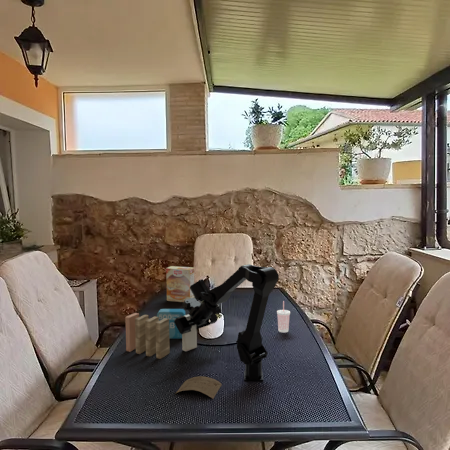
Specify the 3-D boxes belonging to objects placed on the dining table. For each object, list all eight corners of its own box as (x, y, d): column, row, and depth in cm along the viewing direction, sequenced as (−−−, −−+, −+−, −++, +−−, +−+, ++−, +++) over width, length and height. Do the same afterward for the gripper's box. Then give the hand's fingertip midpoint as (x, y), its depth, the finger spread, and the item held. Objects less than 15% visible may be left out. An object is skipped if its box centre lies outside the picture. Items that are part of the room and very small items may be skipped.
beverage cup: (285, 327, 184) (286, 298, 182) (292, 332, 178) (293, 301, 177) (274, 329, 182) (274, 299, 180) (280, 333, 176) (281, 303, 175)
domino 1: (149, 348, 160) (148, 315, 159) (139, 354, 155) (139, 319, 154) (145, 347, 161) (144, 314, 160) (135, 353, 156) (135, 318, 155)
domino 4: (196, 347, 161) (196, 313, 160) (185, 351, 157) (185, 317, 155) (193, 345, 162) (193, 312, 161) (182, 350, 158) (181, 316, 157)
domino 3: (169, 353, 156) (169, 318, 154) (160, 359, 150) (159, 323, 149) (165, 352, 157) (164, 318, 155) (156, 357, 151) (155, 322, 150)
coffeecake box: (166, 301, 229) (165, 268, 227) (171, 297, 236) (171, 265, 234) (190, 303, 224) (189, 269, 223) (194, 299, 231) (194, 267, 229)
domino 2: (159, 350, 158) (158, 317, 157) (150, 356, 153) (149, 321, 151) (155, 349, 159) (154, 316, 158) (146, 355, 154) (145, 320, 152)
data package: (157, 338, 171) (156, 311, 170) (159, 334, 175) (158, 308, 174) (184, 338, 171) (184, 311, 170) (185, 334, 175) (185, 308, 174)
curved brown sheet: (172, 396, 124) (172, 388, 124) (183, 381, 134) (183, 373, 134) (216, 401, 121) (216, 393, 121) (224, 385, 131) (224, 378, 131)
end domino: (139, 346, 162) (139, 313, 161) (130, 351, 157) (129, 317, 156) (136, 345, 163) (135, 312, 162) (126, 350, 158) (125, 317, 157)
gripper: (212, 288, 161) (195, 309, 170) (176, 297, 148) (159, 319, 157) (226, 311, 156) (207, 331, 165) (190, 323, 143) (172, 344, 152)
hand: (187, 331), depth 160 cm, fingers closed on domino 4, 6 cm apart
